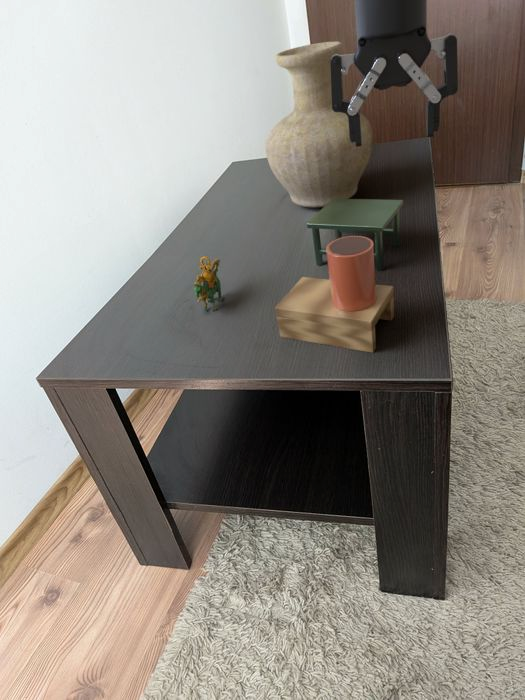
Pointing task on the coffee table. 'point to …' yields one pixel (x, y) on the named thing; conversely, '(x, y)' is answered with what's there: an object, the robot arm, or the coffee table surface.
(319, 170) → the vase
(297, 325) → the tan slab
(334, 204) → the green miniature table
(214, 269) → the figurine
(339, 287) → the cup
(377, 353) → the coffee table surface
